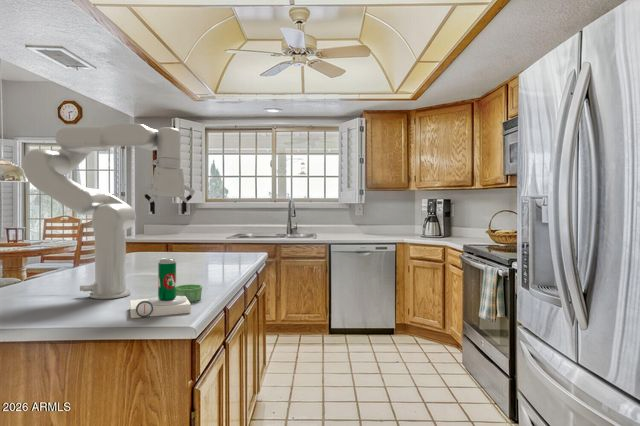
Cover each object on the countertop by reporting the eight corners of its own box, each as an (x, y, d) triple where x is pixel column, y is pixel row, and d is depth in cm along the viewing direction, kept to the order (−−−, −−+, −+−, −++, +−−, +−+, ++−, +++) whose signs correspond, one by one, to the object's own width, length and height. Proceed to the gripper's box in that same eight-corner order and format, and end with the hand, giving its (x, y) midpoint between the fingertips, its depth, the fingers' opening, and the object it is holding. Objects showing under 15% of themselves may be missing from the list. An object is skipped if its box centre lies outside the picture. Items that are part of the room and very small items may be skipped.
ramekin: (193, 303, 133) (193, 290, 133) (168, 302, 136) (168, 288, 136) (207, 297, 142) (207, 284, 142) (183, 296, 144) (183, 283, 144)
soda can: (161, 297, 127) (161, 258, 127) (177, 297, 128) (178, 258, 128) (155, 301, 122) (156, 260, 122) (173, 301, 123) (173, 260, 123)
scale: (130, 318, 115) (130, 302, 115) (130, 308, 126) (130, 293, 126) (191, 313, 121) (191, 297, 121) (185, 303, 133) (185, 289, 133)
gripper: (141, 162, 136) (141, 214, 136) (196, 164, 143) (196, 214, 144) (141, 164, 143) (140, 213, 143) (193, 166, 150) (192, 213, 151)
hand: (168, 214), depth 143 cm, fingers open, 9 cm apart
